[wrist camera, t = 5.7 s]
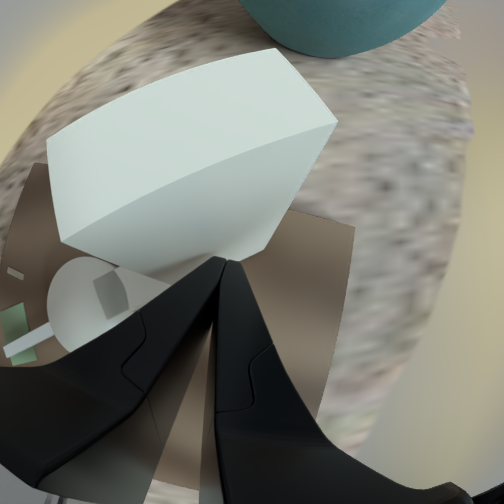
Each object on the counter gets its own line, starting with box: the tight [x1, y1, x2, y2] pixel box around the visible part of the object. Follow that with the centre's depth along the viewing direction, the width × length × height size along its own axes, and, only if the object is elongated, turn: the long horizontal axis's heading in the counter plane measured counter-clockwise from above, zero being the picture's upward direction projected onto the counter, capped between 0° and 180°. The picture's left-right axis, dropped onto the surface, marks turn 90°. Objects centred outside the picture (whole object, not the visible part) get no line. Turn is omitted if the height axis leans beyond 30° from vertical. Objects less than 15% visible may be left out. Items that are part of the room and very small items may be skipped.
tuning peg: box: [3, 48, 338, 358], centre depth 7 cm, size 5×17×10 cm, turn 116°
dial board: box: [0, 163, 355, 491], centre depth 13 cm, size 17×22×1 cm
